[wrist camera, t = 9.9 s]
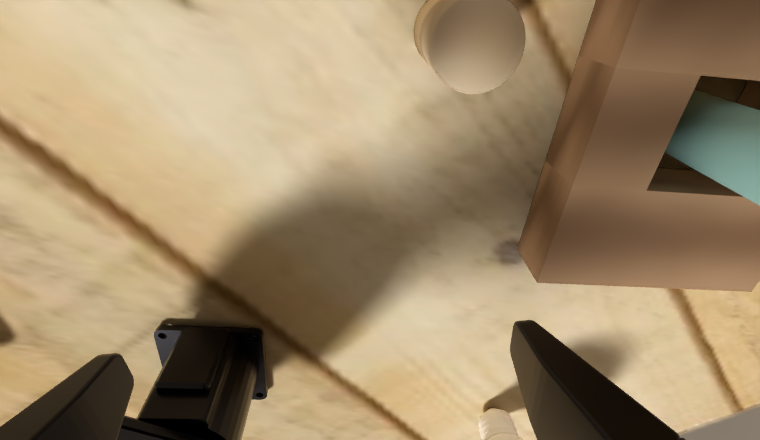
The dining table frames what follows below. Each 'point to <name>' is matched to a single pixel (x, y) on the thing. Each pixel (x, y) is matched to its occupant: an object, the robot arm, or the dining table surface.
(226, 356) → the robot arm
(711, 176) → the long teal pin
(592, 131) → the walnut hole block
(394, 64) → the dining table surface
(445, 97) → the dining table surface
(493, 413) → the lightbulb
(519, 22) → the short beech pin
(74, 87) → the dining table surface
